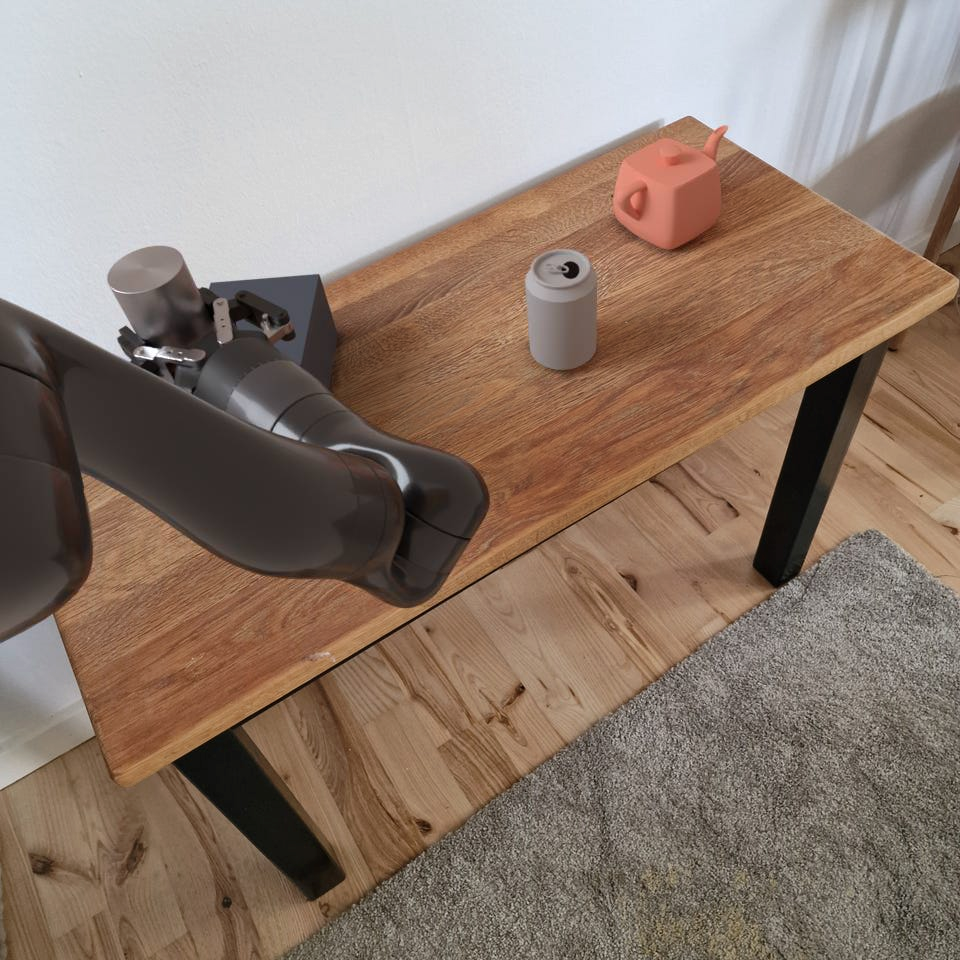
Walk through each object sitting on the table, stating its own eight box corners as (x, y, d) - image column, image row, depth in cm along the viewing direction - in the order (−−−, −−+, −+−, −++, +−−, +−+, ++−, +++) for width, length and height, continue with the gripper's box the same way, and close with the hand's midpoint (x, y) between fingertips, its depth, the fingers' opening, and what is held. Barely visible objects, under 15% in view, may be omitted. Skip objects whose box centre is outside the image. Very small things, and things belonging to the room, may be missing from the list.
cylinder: (182, 443, 76) (96, 296, 63) (197, 396, 80) (119, 248, 66) (246, 439, 75) (172, 289, 62) (257, 392, 79) (190, 242, 66)
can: (598, 373, 91) (600, 286, 82) (530, 377, 92) (524, 291, 82) (593, 327, 96) (594, 240, 86) (529, 332, 96) (523, 245, 87)
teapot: (586, 232, 107) (586, 158, 99) (687, 176, 113) (695, 102, 105) (648, 272, 101) (654, 197, 93) (751, 211, 106) (765, 135, 98)
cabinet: (323, 424, 90) (301, 364, 83) (212, 432, 91) (180, 372, 84) (338, 335, 100) (319, 273, 92) (236, 342, 101) (210, 282, 93)
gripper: (334, 318, 62) (214, 237, 70) (170, 428, 56) (61, 325, 65) (357, 390, 67) (243, 306, 76) (209, 495, 62) (105, 393, 70)
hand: (160, 315), depth 70 cm, fingers closed on cylinder, 6 cm apart
